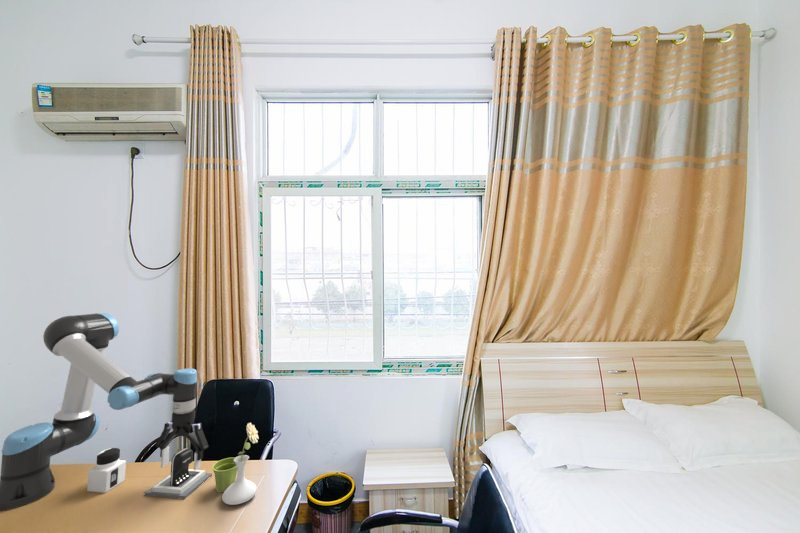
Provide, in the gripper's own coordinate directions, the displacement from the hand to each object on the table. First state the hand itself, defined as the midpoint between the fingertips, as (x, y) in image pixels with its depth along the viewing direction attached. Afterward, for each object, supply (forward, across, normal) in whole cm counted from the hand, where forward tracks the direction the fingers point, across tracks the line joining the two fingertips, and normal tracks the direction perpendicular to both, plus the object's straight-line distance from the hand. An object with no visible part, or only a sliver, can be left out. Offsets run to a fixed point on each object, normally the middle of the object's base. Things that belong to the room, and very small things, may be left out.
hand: (180, 467), depth 122 cm
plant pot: (+7, +18, +1) cm, 19 cm away
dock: (+7, 0, 0) cm, 7 cm away
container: (+7, -27, -4) cm, 28 cm away
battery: (+6, 0, 0) cm, 6 cm away
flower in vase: (+7, +27, -3) cm, 28 cm away
